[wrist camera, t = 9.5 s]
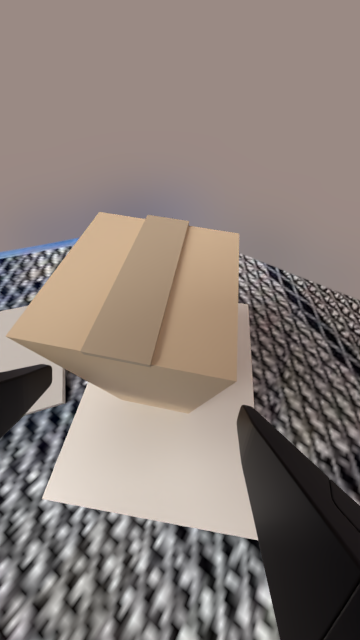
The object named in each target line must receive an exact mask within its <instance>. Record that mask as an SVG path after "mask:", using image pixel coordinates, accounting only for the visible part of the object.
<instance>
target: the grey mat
mask: <svg viewBox="0 0 360 640" xmlns="http://www.w3.org/2000/svg"><path fill="white" fill-rule="evenodd" d="M27 307H28V306H25V307H20V308H15V309H10V310H5V311H0V372H5V371H10V370H14V369H19V368H24V367H29V366H34V365H38V364H46V365H50V366H52V384H51V385H50V387H49V388H48V389H47V390H46V391H45V392H44V394H43V395H42V396H41V397H40V398H39V399H38V400H37V402H36V403H35V404H34V405H33V406H32V407H31V408H30V409H29V411H28V412H27V413H26V414H25V415H28V414H31V413H35V412H38V411H41V410H45V409H48V408H51V407H55V406H58V405H61V404H65V369H64V368H62V367H60V366H59V365H57V364H55V363H53V362H51V361H49V360H48V359H46V358H44V357H42V356H40V355H38V354H37V353H35V352H33V351H31V350H29V349H27V348H26V347H24V346H22V345H20V344H18V343H17V342H15V341H13V340H11V339H9V338H7V337H6V335H7V333H8V332H9V331H10V329H11V328H12V327H13V325H14V324H15V323H16V321H17V320H18V319H19V318H20V316H21V315H22V314H23V312H24V311H25V310H26V308H27ZM25 415H24V416H25Z"/></svg>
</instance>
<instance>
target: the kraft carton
mask: <svg viewBox="0 0 360 640" xmlns="http://www.w3.org/2000/svg"><path fill="white" fill-rule="evenodd" d="M238 274H239V234H237V233H231V232H225V231H219V230H212V229H205V228H199V227H193V226H189V221H184V220H178V219H171V218H165V217H158V216H151V215H147V217H146V219H141V218H135V217H128V216H121V215H114V214H108V213H102V212H99V213H98V215H97V216H96V217H95V219H94V220H93V221H92V223H91V224H90V225H89V227H88V228H87V229H86V231H85V232H84V233H83V235H82V236H81V237H80V238H79V240H78V241H77V242H76V244H75V245H74V246H73V248H72V249H71V250H70V252H69V253H68V254H67V256H66V257H65V258H64V259H63V261H62V262H61V263H60V265H59V266H58V267H57V269H56V270H55V271H54V273H53V274H52V275H51V277H50V278H49V279H48V281H47V282H46V283H45V285H44V286H43V287H42V288H41V290H40V291H39V292H38V294H37V295H36V296H35V298H34V299H33V300H32V302H31V303H30V304H29V306H28V307H27V308H26V310H25V311H24V312H23V314H22V315H21V316H20V318H19V319H18V320H17V321H16V323H15V324H14V325H13V327H12V328H11V329H10V331H9V332H8V333H7V335H6V337H7V338H9V339H11V340H13V341H15V342H17V343H18V344H20V345H22V346H24V347H26V348H27V349H29V350H31V351H33V352H35V353H37V354H38V355H40V356H42V357H44V358H46V359H48V360H49V361H51V362H53V363H55V364H57V365H59V366H60V367H62V368H64V369H66V370H68V371H70V372H71V373H73V374H75V375H77V376H79V377H81V378H82V379H84V380H86V381H88V382H90V383H92V384H93V385H95V386H97V387H99V388H101V389H103V390H104V391H106V392H108V393H110V394H112V395H114V396H115V397H117V398H119V399H121V400H124V401H129V402H134V403H139V404H144V405H149V406H154V407H158V408H163V409H168V410H173V411H178V412H183V413H187V414H189V413H190V412H192V411H193V410H195V409H196V408H198V407H199V406H201V405H202V404H204V403H205V402H207V401H208V400H210V399H211V398H213V397H214V396H216V395H217V394H219V393H220V392H222V391H223V390H225V389H226V388H228V387H229V386H231V385H232V384H234V383H235V382H237V337H238Z"/></svg>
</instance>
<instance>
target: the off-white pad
mask: <svg viewBox="0 0 360 640" xmlns="http://www.w3.org/2000/svg"><path fill="white" fill-rule="evenodd" d="M241 405H248V406H251V407H253V408H254V394H253V377H252V360H251V343H250V326H249V310H248V304H241V303H238V337H237V382H235V383H234V384H232V385H231V386H229V387H228V388H226V389H225V390H223V391H222V392H220V393H219V394H217V395H216V396H214V397H213V398H211V399H210V400H208V401H207V402H205V403H204V404H202V405H201V406H199V407H198V408H196V409H195V410H193V411H192V412H190V413H189V414H187V413H183V412H178V411H173V410H168V409H163V408H158V407H154V406H149V405H144V404H139V403H134V402H129V401H124V400H121V399H119V398H117V397H115V396H114V395H112V394H110V393H108V392H106V391H104V390H103V389H101V388H99V387H97V386H95V385H93V384H92V383H90V382H88V384H87V387H86V389H85V392H84V394H83V397H82V399H81V402H80V404H79V407H78V409H77V412H76V414H75V417H74V419H73V422H72V424H71V427H70V429H69V432H68V434H67V437H66V439H65V442H64V445H63V447H62V450H61V452H60V455H59V457H58V460H57V462H56V465H55V467H54V470H53V472H52V475H51V477H50V480H49V482H48V485H47V487H46V490H45V492H44V495H43V497H42V499H45V500H50V501H56V502H61V503H66V504H71V505H77V506H82V507H87V508H92V509H98V510H103V511H108V512H113V513H118V514H124V515H129V516H134V517H139V518H145V519H150V520H155V521H160V522H166V523H171V524H176V525H181V526H186V527H192V528H197V529H202V530H207V531H213V532H218V533H223V534H228V535H234V536H239V537H244V538H249V539H254V540H258V536H257V532H256V527H255V523H254V518H253V514H252V509H251V505H250V501H249V496H248V492H247V487H246V483H245V478H244V474H243V469H242V464H241V457H240V449H239V441H238V433H237V418H238V414H239V411H240V407H241Z"/></svg>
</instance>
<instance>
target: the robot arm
mask: <svg viewBox="0 0 360 640" xmlns="http://www.w3.org/2000/svg"><path fill="white" fill-rule="evenodd" d="M51 384H52V366H50V365H46V364H38V365H34V366H29V367H24V368H19V369H14V370H10V371H5V372H0V438H1V437H2V436H3V435H4V434H5V433H6V432H7V431H8V430H10V429H11V428H12V427H13V426H14V425H15V424H16V423H17V422H18V421H19V420H20V419H21V418H22V417H23V416H24V415H25V414H26V413H27V412H28V411H29V409H30V408H31V407H32V406H33V405H34V404H35V403H36V402H37V400H38V399H39V398H40V397H41V396H42V395H43V394H44V392H45V391H46V390H47V389H48V388H49V387H50V385H51ZM237 433H238V441H239V449H240V457H241V464H242V469H243V474H244V478H245V483H246V487H247V492H248V496H249V501H250V505H251V509H252V514H253V518H254V523H255V527H256V532H257V536H258V541H259V545H260V550H261V554H262V559H263V563H264V568H265V572H266V577H267V581H268V586H269V590H270V595H271V599H272V604H273V608H274V613H275V617H276V622H277V626H278V631H279V635H280V640H360V506H359V505H358V504H357V503H356V502H355V501H354V500H353V499H352V498H350V497H349V496H348V495H347V494H346V493H345V492H344V491H343V490H342V489H341V488H339V487H338V486H337V485H336V484H335V483H334V482H333V481H332V480H329V478H328V477H327V476H326V475H325V474H324V473H323V472H322V471H321V470H320V469H319V468H318V467H317V466H316V465H314V464H313V463H312V462H311V461H310V460H309V459H308V458H307V457H306V456H305V455H304V454H303V453H301V452H300V451H299V450H298V449H297V448H296V447H295V446H294V445H293V444H292V443H291V442H289V441H288V440H287V439H286V438H285V437H284V436H283V435H282V434H281V433H280V432H279V431H278V430H276V429H275V428H274V427H273V426H272V425H271V424H270V423H269V422H268V421H267V420H266V419H265V418H263V417H262V416H261V415H260V414H259V413H258V412H257V411H256V410H255V409H254V408H253V407H251V406H248V405H241V407H240V411H239V414H238V418H237Z"/></svg>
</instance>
